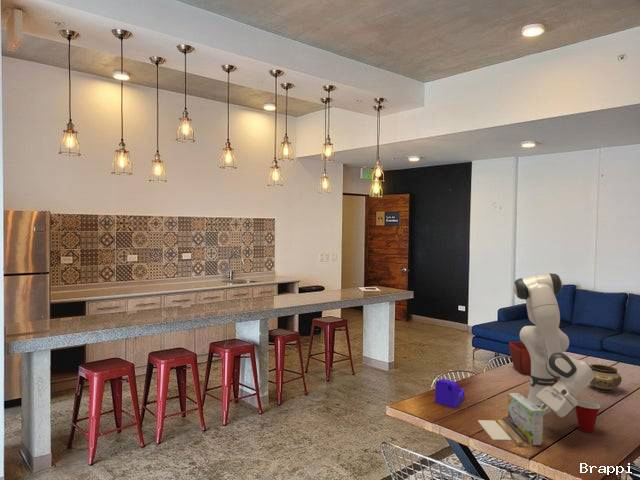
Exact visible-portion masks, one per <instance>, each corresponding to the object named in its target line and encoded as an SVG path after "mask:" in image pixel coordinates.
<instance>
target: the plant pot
mask: <svg viewBox="0 0 640 480" xmlns="http://www.w3.org/2000/svg"><path fill="white" fill-rule="evenodd" d="M508 347H509V353H510V357H511V362H512V365H513V368H514V370H516V371H517V373H519V374H521V375H523V376H530V374H531V358H530V355H529V352H528V350H527V348H526V346H525V345H524V344H523V342H522V341H509V342H508ZM546 352H547V350H546Z"/></svg>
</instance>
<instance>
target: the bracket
mask: <svg viewBox="0 0 640 480" xmlns="http://www.w3.org/2000/svg"><path fill="white" fill-rule="evenodd" d="M434 390H435V396H434V403H437V404H440V405H442V406H446V407H448V408H453V409H455V408H457V407H459V406H460V405H461V403H462V402H463V401H464V399H465V392H466V391H465V389H464V388H460V385H459V383H458V382H457V381H454V380H450V379H446V378H441V379H439V380H436V381H435V389H434Z"/></svg>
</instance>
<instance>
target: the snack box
mask: <svg viewBox="0 0 640 480" xmlns="http://www.w3.org/2000/svg"><path fill="white" fill-rule="evenodd" d="M507 397H508V398H507V419H508V420H509V421H510V422H511V424H512V425H513V426H514V427H515V428H516V429H517V430H518V431H519V432H520V433H521V434H522V435H523V436H524V437H525V438H526V439H527V443H528V445H530V447H531V446H532V447H533V446H543V431H544V429H543V428H544V427H543V425H544V423H543V421H544V416H543V410H541V409H540V406H537V405H534V404H533V403H532V402H530V401H529V400H527V398H526V397H525V396H523V395H522V394H520V393H519V392H508V393H507Z"/></svg>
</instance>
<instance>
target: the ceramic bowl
mask: <svg viewBox="0 0 640 480" xmlns="http://www.w3.org/2000/svg"><path fill="white" fill-rule="evenodd" d="M589 366H590V367H591V368H592V370H593V371H594V378H593V380H592V381H591V382H590V383H589V385H591V386H592V389H594V390H595V391H598V392H601V393H611V392H613V389H616V388H617V387H619V386H620V385H621V383H622V381H623V380H622V376H621V373H619V372H618V369H617V368H616V367H614V366H610V365H606V364H605V365H604V364H599V363H591V364H589Z"/></svg>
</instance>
